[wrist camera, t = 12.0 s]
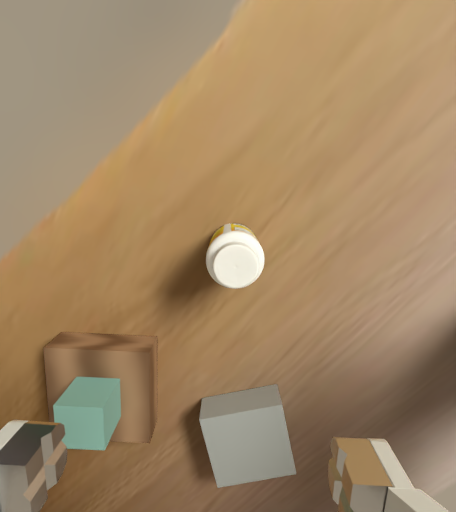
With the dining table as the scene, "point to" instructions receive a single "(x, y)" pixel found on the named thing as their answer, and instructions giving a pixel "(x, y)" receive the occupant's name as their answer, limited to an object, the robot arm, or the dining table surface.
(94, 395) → the teal cube
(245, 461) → the slate block
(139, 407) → the walnut block
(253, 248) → the supplement bottle
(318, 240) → the dining table surface
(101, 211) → the dining table surface
